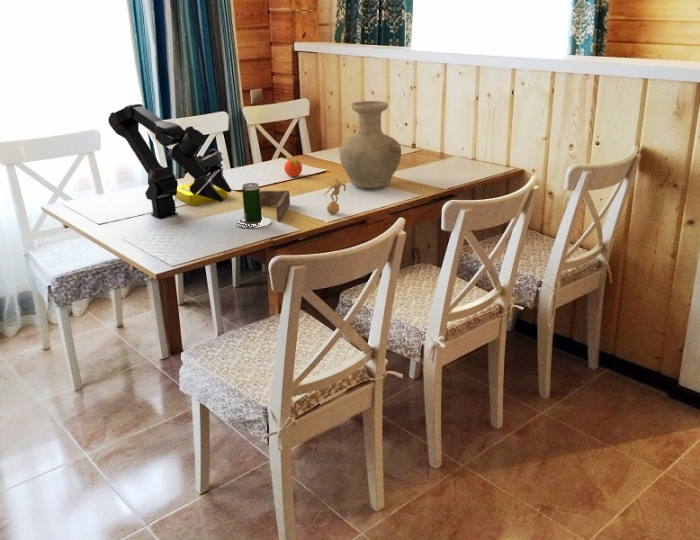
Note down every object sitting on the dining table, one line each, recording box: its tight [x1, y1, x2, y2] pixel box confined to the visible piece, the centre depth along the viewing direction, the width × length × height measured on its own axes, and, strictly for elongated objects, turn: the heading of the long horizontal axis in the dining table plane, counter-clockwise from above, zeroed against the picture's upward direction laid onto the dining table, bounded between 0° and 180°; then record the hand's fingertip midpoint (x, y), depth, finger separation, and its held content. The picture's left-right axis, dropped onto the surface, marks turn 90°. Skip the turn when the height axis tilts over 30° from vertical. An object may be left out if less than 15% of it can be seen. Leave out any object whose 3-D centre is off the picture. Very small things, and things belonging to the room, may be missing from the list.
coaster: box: [236, 216, 268, 228], centre depth 217 cm, size 11×11×1 cm
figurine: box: [324, 178, 347, 215], centre depth 221 cm, size 8×6×12 cm
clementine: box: [284, 158, 303, 178], centre depth 267 cm, size 8×7×7 cm
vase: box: [338, 100, 402, 189], centre depth 248 cm, size 22×22×30 cm
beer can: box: [241, 182, 263, 224], centre depth 215 cm, size 5×5×12 cm
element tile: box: [174, 179, 229, 207], centre depth 244 cm, size 15×15×5 cm
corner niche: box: [260, 190, 291, 221], centre depth 226 cm, size 14×18×5 cm
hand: (226, 196), depth 215 cm, fingers open, 9 cm apart
